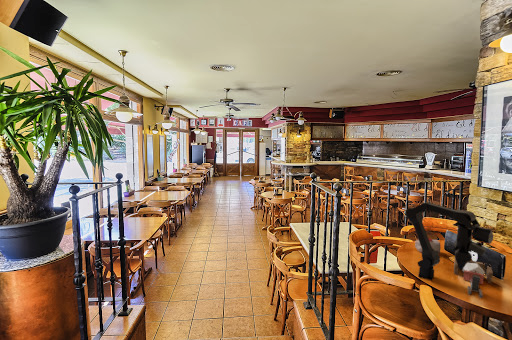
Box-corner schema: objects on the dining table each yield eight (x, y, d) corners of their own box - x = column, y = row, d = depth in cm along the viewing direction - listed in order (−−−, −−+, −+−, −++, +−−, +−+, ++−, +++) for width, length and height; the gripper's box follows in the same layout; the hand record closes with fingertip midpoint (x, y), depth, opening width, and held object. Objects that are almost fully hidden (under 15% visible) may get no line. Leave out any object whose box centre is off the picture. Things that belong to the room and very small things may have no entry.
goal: (454, 274, 149) (455, 264, 149) (453, 266, 159) (455, 256, 158) (491, 283, 140) (492, 273, 139) (488, 274, 149) (490, 264, 148)
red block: (464, 289, 134) (466, 274, 133) (463, 278, 145) (465, 264, 144) (485, 295, 129) (487, 280, 128) (482, 283, 140) (484, 269, 139)
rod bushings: (468, 294, 130) (468, 291, 130) (467, 288, 135) (468, 286, 134) (482, 298, 127) (482, 295, 127) (480, 292, 132) (481, 289, 131)
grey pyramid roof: (458, 276, 148) (467, 268, 141) (462, 264, 153) (471, 256, 146) (475, 286, 144) (485, 278, 137) (479, 273, 149) (489, 265, 142)
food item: (419, 253, 176) (421, 239, 174) (413, 248, 183) (414, 235, 182) (441, 254, 174) (442, 240, 173) (434, 249, 182) (435, 236, 181)
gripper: (488, 247, 117) (483, 279, 119) (483, 234, 132) (479, 263, 134) (456, 240, 124) (453, 271, 126) (455, 229, 139) (452, 257, 141)
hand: (460, 266), depth 132 cm, fingers open, 9 cm apart
